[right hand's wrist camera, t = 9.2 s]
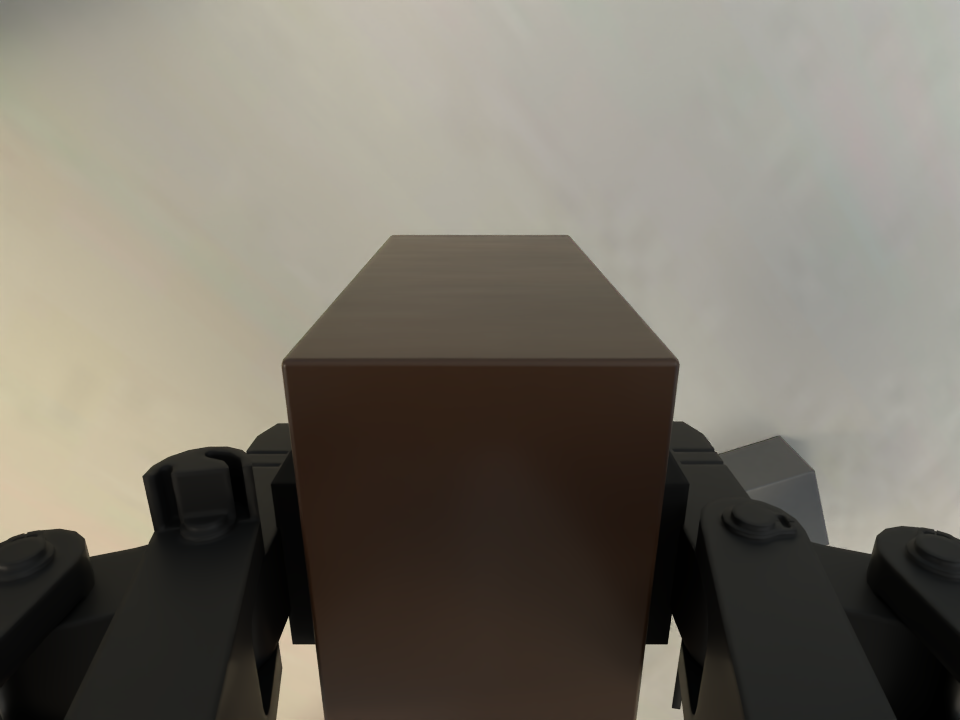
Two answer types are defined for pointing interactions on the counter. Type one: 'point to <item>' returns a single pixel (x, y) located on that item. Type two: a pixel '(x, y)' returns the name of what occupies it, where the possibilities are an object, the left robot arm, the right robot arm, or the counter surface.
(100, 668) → the right robot arm
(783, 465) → the slate block
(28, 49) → the counter surface
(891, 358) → the counter surface
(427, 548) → the walnut bar
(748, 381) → the counter surface
